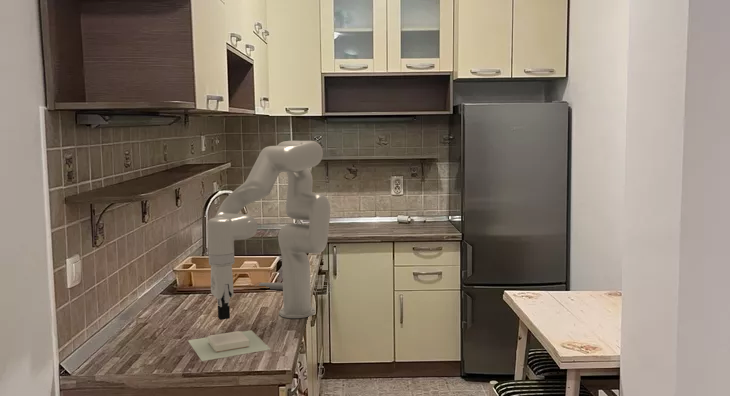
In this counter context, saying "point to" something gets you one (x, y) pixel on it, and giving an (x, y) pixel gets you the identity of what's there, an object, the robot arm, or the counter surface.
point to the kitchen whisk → (280, 285)
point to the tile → (228, 341)
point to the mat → (208, 352)
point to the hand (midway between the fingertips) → (224, 318)
